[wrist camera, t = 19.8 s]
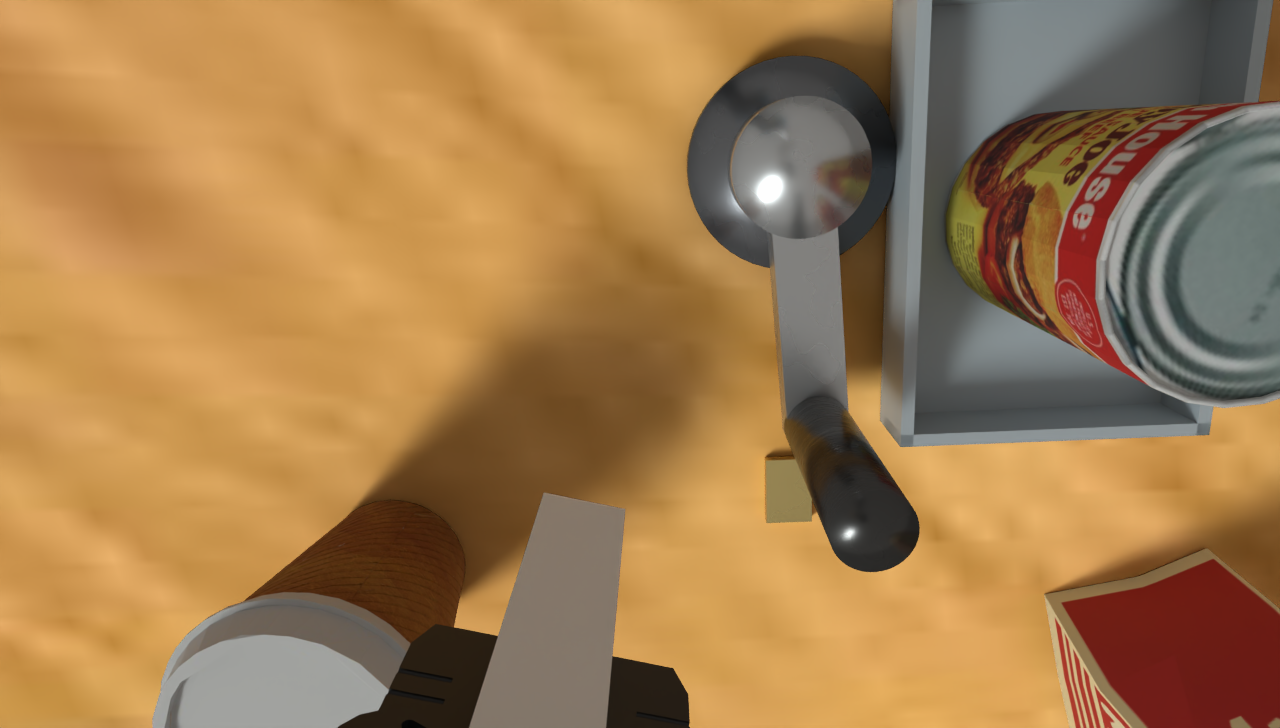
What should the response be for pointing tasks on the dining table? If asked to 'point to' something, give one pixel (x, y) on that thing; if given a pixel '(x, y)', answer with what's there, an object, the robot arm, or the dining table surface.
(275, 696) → the disposable coffee cup
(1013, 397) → the tray
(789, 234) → the crank
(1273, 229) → the canned food
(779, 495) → the beige flat block
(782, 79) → the crank base
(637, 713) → the robot arm
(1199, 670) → the milk carton
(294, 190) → the dining table surface
